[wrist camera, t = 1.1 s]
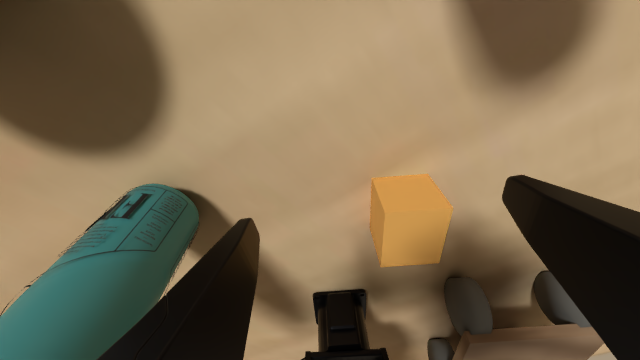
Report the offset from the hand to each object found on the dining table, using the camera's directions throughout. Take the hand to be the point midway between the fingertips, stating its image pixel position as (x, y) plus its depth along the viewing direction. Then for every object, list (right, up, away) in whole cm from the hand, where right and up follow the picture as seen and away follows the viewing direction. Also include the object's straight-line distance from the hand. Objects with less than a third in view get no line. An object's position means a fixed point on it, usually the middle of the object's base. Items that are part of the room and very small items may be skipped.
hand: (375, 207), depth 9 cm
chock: (+5, -1, +16) cm, 16 cm away
